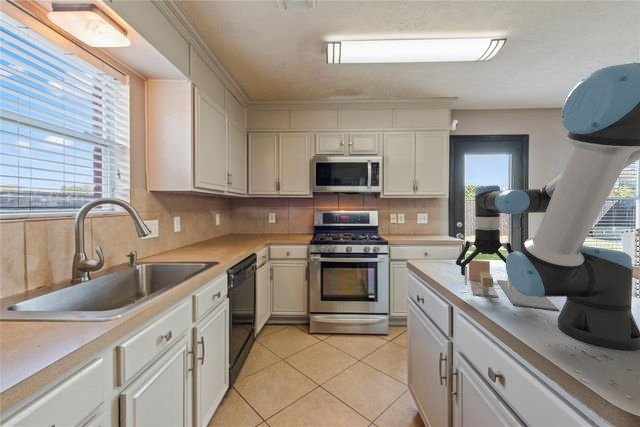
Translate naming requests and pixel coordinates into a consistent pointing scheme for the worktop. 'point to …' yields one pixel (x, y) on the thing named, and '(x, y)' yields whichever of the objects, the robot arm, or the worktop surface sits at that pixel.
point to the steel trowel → (484, 286)
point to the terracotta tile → (478, 269)
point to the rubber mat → (526, 298)
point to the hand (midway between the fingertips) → (487, 286)
